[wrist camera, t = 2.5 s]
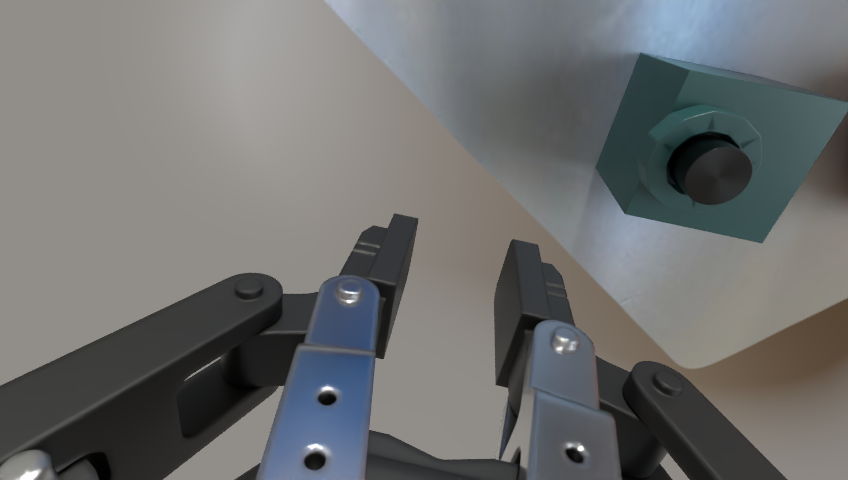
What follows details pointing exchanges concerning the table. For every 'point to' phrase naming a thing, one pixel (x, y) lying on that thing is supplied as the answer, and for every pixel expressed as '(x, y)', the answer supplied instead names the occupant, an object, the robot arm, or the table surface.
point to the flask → (718, 116)
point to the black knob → (711, 170)
